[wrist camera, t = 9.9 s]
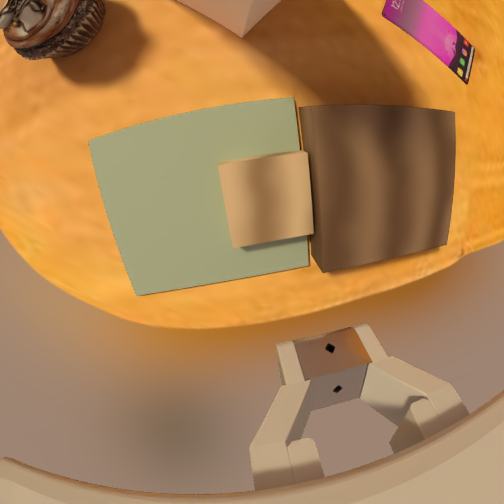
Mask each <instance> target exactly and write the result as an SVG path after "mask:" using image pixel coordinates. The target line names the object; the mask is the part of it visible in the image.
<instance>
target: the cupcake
mask: <svg viewBox="0 0 504 504" xmlns="http://www.w3.org/2000/svg"><path fill="white" fill-rule="evenodd" d="M104 15H105V9H104V3H103V1H102V0H8V2H7V4H6V6H5V7H4V8H3V9H2V10H1V12H0V28H1V29H3V32H4V36H5V39H6V41H7V42H8V44H9V45H10V46H12V47H14V49H15V50H16V52H17V53H18V54H19V55H22V57H25V58H26V59H29V60H39V59H46V58H57V57H66V56H68V55H72V54H74V53H76V52H77V51H79V50H81V49H83V48H84V47H85V46H86V45H88V43H89V42H90V41H91V40H92V39H93V38H94V37H95V36H96V34H97V33H98V31H99V30H100V28H101V26H102V23H103V21H102V20H103V19H104Z"/></svg>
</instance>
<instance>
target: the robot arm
mask: <svg viewBox="0 0 504 504" xmlns="http://www.w3.org/2000/svg"><path fill="white" fill-rule="evenodd" d="M276 350H277V358H278V366H279V372H280V378H281V382H282V386H281V388H280V390H279V392H278V394H277V396H276V398H275V400H274V402H273V404H272V406H271V408H270V410H269V412H268V414H267V416H266V417H265V419H264V421H263V423H262V425H261V427H260V429H259V431H258V433H257V434H256V436H255V438H254V440H253V442H252V443H251V446H250V455H251V463H252V471H253V479H254V486H255V491H246V492H235V493H220V494H168V493H152V492H142V491H133V490H126V489H118V488H112V487H107V486H102V485H97V484H91V483H87V482H83V481H79V480H74V479H71V478H67V477H63V476H60V475H57V474H53V473H50V472H47V471H44V470H41V469H38V468H35V467H32V466H29V465H27V464H25V463H22V462H19V461H17V460H15V459H12V458H9V457H3V458H0V504H504V390H503V391H502V392H501V393H499V394H498V395H497V396H495V397H494V398H493V399H491V400H490V401H488V402H487V403H486V404H484V405H483V406H481V407H480V408H478V409H477V410H476V411H474V412H472V413H471V414H469V412H468V410H467V409H466V407H465V405H464V404H463V402H462V401H461V399H460V398H459V396H458V394H457V393H456V392H455V390H454V388H453V387H452V385H451V384H450V383H448V382H446V381H444V380H441V379H440V378H437V377H435V376H433V375H431V374H429V373H427V372H425V371H423V370H421V369H419V368H417V367H414V366H413V365H411V364H409V363H407V362H404V361H402V360H400V359H398V358H396V357H394V356H390V357H388V355H387V353H386V352H385V350H384V348H383V347H382V345H381V344H380V342H379V340H378V339H377V337H376V336H375V334H374V332H373V331H372V329H371V328H370V326H369V324H367V323H363V324H360V325H356V326H352V327H348V328H345V329H341V330H337V331H334V332H329V333H326V334H322V335H318V336H313V337H308V338H303V339H298V340H293V341H289V342H283V343H277V344H276ZM356 398H360V399H361V400H362V401H364V402H365V403H366V404H368V405H369V406H371V407H372V408H373V409H375V410H376V411H377V412H379V413H380V414H381V415H383V416H384V417H386V418H387V419H388V420H390V421H391V422H393V423H394V424H396V425H397V426H398V429H397V430H396V432H395V434H394V435H393V437H392V438H391V440H390V442H389V443H390V445H391V447H392V450H393V453H394V454H392V455H390V456H387V457H386V458H382V459H380V460H377V461H375V462H372V463H369V464H366V465H363V466H361V467H358V468H354V469H352V470H348V471H345V472H342V473H338V474H335V475H331V476H327V477H324V473H323V469H322V466H321V462H320V459H319V456H318V452H317V449H316V445H315V442H314V440H312V439H309V438H305V439H301V437H302V434H303V431H304V428H305V426H306V423H307V421H308V418H309V415H310V411H313V410H316V409H320V408H324V407H327V406H331V405H334V404H338V403H342V402H346V401H349V400H352V399H356Z"/></svg>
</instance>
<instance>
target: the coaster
mask: <svg viewBox="0 0 504 504" xmlns="http://www.w3.org/2000/svg"><path fill="white" fill-rule="evenodd" d="M218 171H219V176H220V182H221V187H222V193H223V198H224V203H225V209H226V214H227V219H228V225H229V230H230V235H231V240H232V246H233V248H237V247H242V246H248V245H253V244H259V243H264V242H270V241H276V240H281V239H287V238H292V237H298V236H303V235H309V234H314V229H313V213H312V198H311V186H310V174H309V163H308V153H307V152H305V151H302V150H298V151H289V152H281V153H274V154H267V155H260V156H253V157H247V158H240V159H235V160H229V161H223V162H218Z"/></svg>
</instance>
